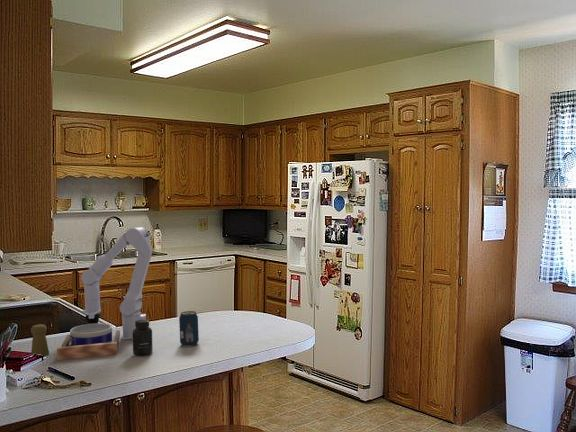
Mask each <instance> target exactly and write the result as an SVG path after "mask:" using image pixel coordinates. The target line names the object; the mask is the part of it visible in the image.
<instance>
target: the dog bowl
mask: <svg viewBox="0 0 576 432" xmlns="http://www.w3.org/2000/svg"><path fill="white" fill-rule="evenodd" d="M69 335H70V339H71V341H70V346H77V345H88V344H99V343H109V342H113V326H112V324H110V323H105V322H104V323H102V322H100V323H99V322H98V323H94V324H88V323H85V324H81V325H76V326H74V327H72V328H70V330H69Z"/></svg>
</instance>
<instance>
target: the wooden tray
mask: <svg viewBox="0 0 576 432" xmlns="http://www.w3.org/2000/svg"><path fill="white" fill-rule="evenodd" d="M120 336H121V331H120V329H118V330H115V334H114V339H113V341H112V342H109V343H99V344H88V345H77V346H71V345H70V344H71V339H70V334H66V336H65V338H64V340H63V343H61V345H60V346H58V347H57V348H56V361H60V360H61V361H62V360H74V359H81V358H93V357H103V356H104V357H105V356H113V355H118V351H119V343H120ZM69 343H70V344H69Z"/></svg>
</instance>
